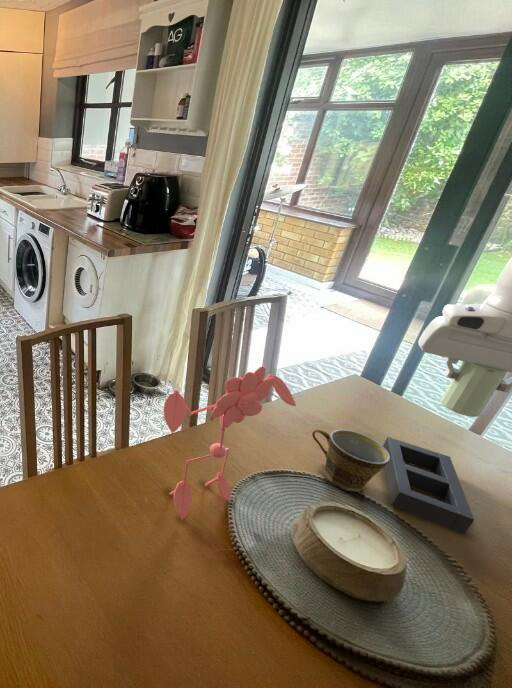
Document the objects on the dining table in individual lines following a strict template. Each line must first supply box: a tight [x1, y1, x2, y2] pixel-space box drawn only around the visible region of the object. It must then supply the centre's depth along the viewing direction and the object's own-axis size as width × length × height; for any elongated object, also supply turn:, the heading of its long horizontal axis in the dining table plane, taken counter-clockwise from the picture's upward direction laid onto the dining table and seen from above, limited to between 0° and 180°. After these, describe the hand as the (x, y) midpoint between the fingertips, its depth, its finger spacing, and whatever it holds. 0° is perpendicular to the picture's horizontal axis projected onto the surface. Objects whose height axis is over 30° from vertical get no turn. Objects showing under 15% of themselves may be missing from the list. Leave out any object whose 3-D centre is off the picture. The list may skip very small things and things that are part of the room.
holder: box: [382, 436, 475, 534], centre depth 89 cm, size 11×20×4 cm, turn 145°
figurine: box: [144, 365, 297, 551], centre depth 75 cm, size 15×26×35 cm, turn 106°
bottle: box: [440, 361, 509, 418], centre depth 82 cm, size 6×6×15 cm
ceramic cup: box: [311, 429, 390, 493], centre depth 90 cm, size 13×10×10 cm
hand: (474, 383), depth 82 cm, fingers closed on bottle, 6 cm apart
